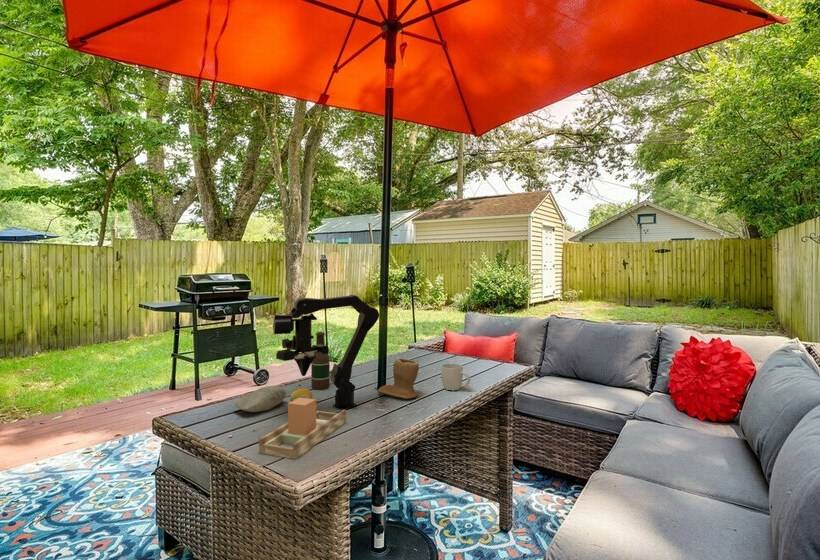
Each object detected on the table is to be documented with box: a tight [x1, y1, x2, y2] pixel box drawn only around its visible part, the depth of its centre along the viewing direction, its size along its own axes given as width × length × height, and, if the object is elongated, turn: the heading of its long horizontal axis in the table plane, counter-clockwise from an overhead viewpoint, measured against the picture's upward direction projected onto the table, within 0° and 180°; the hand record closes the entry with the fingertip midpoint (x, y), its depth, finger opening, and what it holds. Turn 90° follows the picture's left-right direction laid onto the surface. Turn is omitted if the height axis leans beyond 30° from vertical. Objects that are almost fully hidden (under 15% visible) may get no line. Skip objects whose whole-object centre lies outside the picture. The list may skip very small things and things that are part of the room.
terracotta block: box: [287, 398, 317, 435], centre depth 133 cm, size 6×6×9 cm
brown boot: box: [378, 357, 420, 399], centre depth 177 cm, size 15×12×15 cm
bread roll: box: [290, 388, 313, 401], centre depth 173 cm, size 8×9×4 cm
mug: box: [440, 363, 471, 392], centre depth 185 cm, size 13×9×10 cm
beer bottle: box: [310, 331, 331, 391], centre depth 188 cm, size 8×8×24 cm
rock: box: [233, 385, 287, 413], centre depth 161 cm, size 8×11×20 cm
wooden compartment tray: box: [258, 406, 347, 460], centre depth 135 cm, size 30×12×4 cm, turn 162°
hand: (303, 375), depth 157 cm, fingers closed
